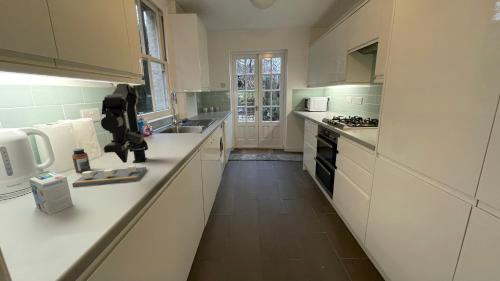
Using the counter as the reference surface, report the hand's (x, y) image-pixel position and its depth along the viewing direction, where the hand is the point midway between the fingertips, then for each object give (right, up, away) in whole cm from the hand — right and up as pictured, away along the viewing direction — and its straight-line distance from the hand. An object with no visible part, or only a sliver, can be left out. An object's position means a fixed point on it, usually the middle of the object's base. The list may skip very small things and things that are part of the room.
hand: (125, 162), depth 89 cm
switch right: (-17, -7, +1) cm, 18 cm away
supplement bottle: (-30, -6, +15) cm, 34 cm away
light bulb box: (-14, -14, -17) cm, 26 cm away
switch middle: (-9, -6, +3) cm, 11 cm away
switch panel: (-9, -8, +6) cm, 13 cm away
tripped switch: (-1, -5, +7) cm, 9 cm away
